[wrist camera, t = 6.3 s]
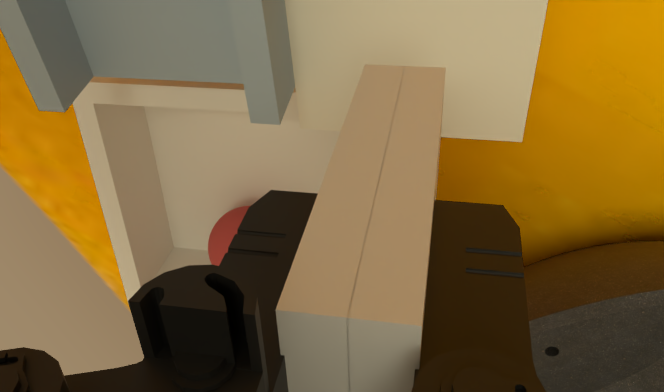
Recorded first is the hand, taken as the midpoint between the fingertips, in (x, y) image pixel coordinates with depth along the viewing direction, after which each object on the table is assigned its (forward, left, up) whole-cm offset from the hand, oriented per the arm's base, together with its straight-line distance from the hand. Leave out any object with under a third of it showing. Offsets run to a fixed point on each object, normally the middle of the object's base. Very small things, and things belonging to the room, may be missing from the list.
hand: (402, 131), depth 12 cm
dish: (+8, -7, -11) cm, 15 cm away
